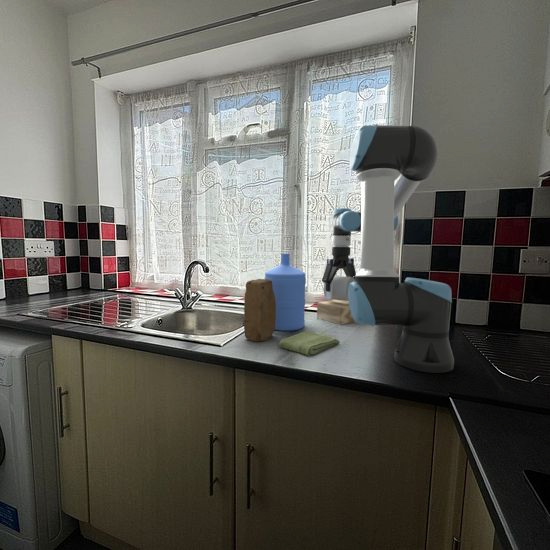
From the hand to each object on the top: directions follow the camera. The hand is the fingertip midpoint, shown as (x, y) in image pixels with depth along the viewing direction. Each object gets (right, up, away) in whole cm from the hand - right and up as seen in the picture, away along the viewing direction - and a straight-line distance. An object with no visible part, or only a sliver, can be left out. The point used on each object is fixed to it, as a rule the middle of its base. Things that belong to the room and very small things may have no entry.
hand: (339, 297), depth 141 cm
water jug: (-24, -10, -12) cm, 28 cm away
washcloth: (-16, -13, -35) cm, 41 cm away
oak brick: (0, -9, +1) cm, 9 cm away
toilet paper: (0, -1, 0) cm, 1 cm away
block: (-32, -12, -28) cm, 44 cm away
